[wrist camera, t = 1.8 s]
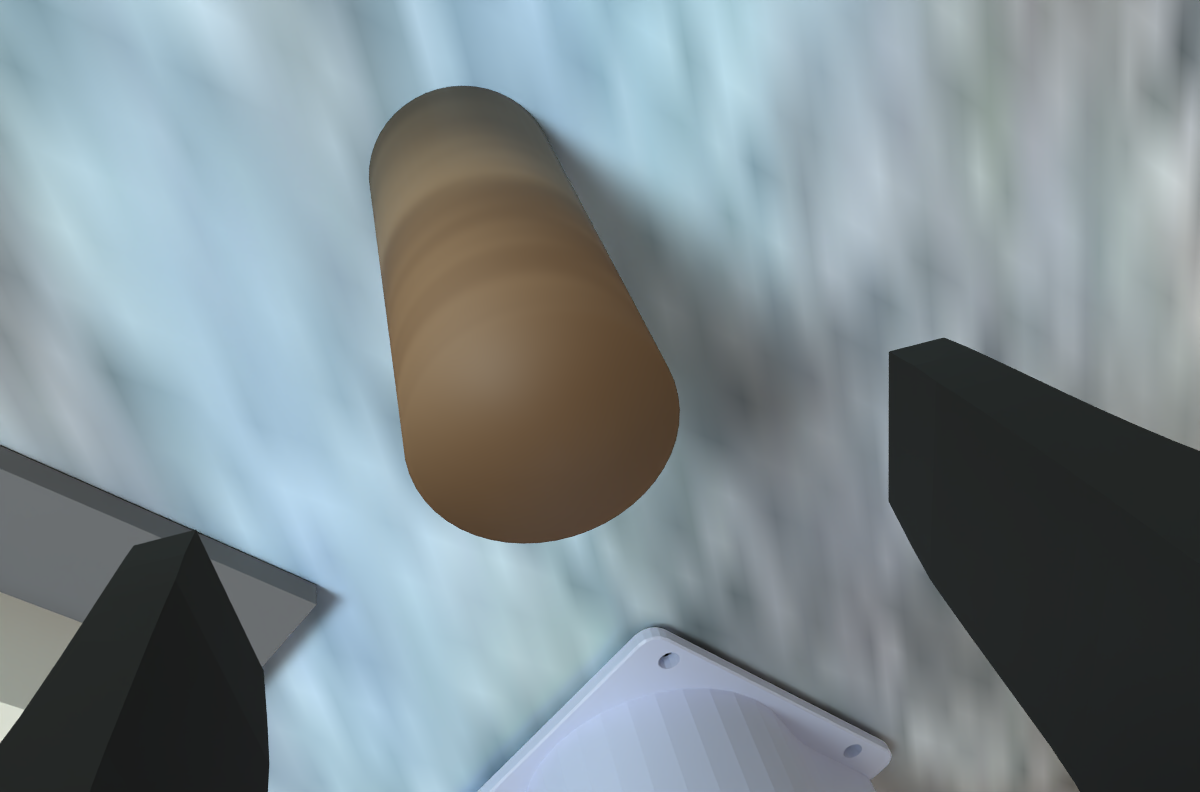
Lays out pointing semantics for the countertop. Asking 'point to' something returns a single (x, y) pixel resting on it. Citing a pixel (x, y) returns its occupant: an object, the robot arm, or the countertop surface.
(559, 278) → the walnut peg
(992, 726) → the countertop surface
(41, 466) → the peg socket
